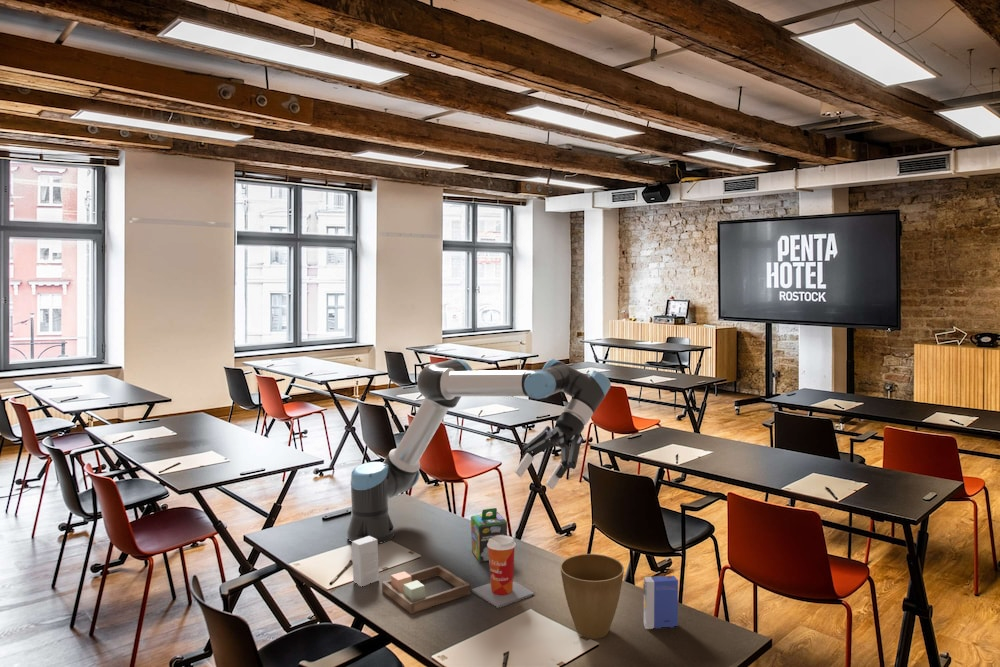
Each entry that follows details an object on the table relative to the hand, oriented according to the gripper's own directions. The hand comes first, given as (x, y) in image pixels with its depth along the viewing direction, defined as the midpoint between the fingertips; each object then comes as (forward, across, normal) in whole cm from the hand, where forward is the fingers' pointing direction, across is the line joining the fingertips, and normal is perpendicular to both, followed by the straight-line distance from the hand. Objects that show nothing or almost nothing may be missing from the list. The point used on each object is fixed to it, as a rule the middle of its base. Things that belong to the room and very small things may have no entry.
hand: (532, 480), depth 189 cm
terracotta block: (+43, +16, +2) cm, 46 cm away
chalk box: (+20, +23, -22) cm, 37 cm away
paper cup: (+28, 0, -13) cm, 30 cm away
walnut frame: (+39, +13, -2) cm, 41 cm away
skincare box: (+47, +29, +5) cm, 55 cm away
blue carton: (+14, -37, -27) cm, 48 cm away
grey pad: (+28, 0, -13) cm, 31 cm away
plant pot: (+24, -29, -16) cm, 41 cm away
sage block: (+43, +9, +2) cm, 44 cm away
